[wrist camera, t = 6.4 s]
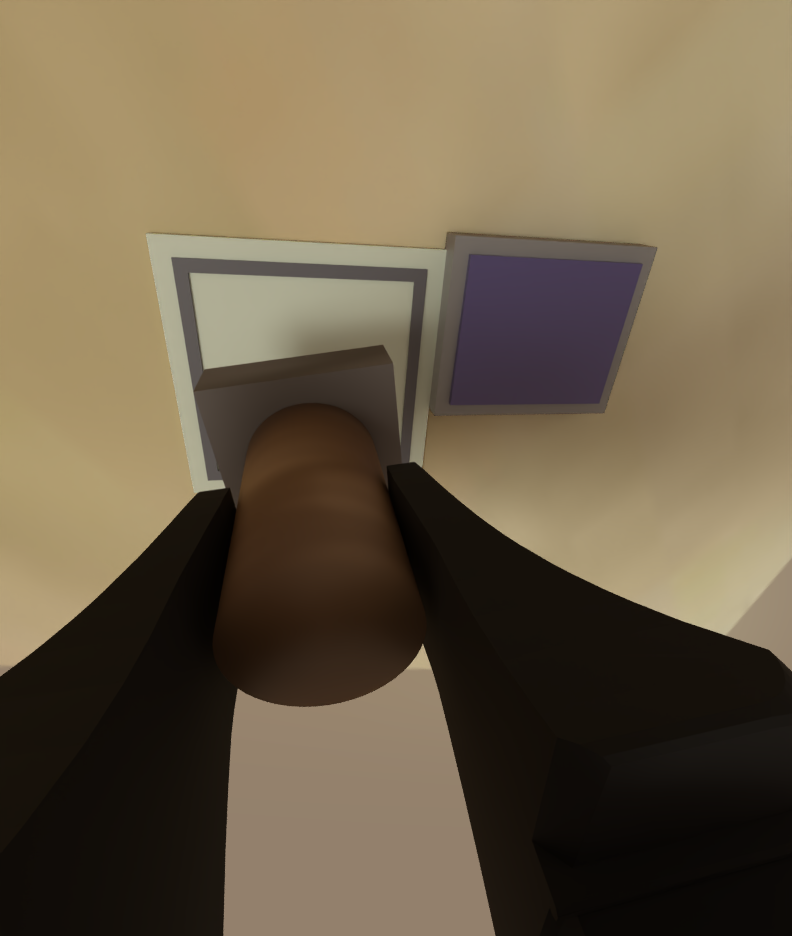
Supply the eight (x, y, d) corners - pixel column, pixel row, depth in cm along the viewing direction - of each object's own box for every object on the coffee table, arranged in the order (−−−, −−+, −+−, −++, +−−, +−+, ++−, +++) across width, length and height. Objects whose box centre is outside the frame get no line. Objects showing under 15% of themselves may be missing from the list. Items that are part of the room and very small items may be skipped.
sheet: (444, 249, 15) (447, 250, 15) (419, 480, 20) (420, 484, 20) (147, 232, 14) (144, 233, 13) (195, 490, 18) (193, 494, 18)
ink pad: (639, 244, 16) (661, 248, 15) (590, 403, 19) (606, 415, 18) (446, 232, 15) (457, 235, 14) (427, 404, 18) (435, 418, 17)
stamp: (382, 344, 12) (466, 496, 6) (397, 487, 14) (467, 696, 9) (204, 369, 12) (109, 560, 6) (249, 513, 14) (215, 753, 8)
